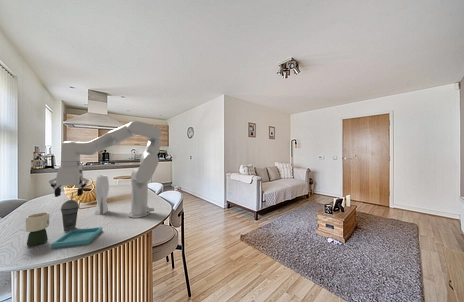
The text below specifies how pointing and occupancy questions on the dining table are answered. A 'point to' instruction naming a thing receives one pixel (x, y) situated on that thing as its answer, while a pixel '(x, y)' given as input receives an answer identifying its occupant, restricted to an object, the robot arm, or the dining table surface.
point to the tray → (77, 237)
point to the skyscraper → (101, 194)
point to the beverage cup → (69, 214)
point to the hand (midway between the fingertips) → (68, 196)
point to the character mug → (37, 228)
